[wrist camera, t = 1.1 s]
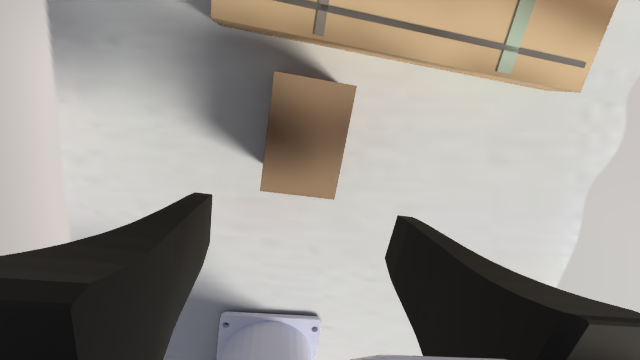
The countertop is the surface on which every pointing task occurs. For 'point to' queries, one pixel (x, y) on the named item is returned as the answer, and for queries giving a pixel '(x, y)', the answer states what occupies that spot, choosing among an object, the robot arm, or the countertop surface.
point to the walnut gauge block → (306, 135)
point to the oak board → (444, 33)
